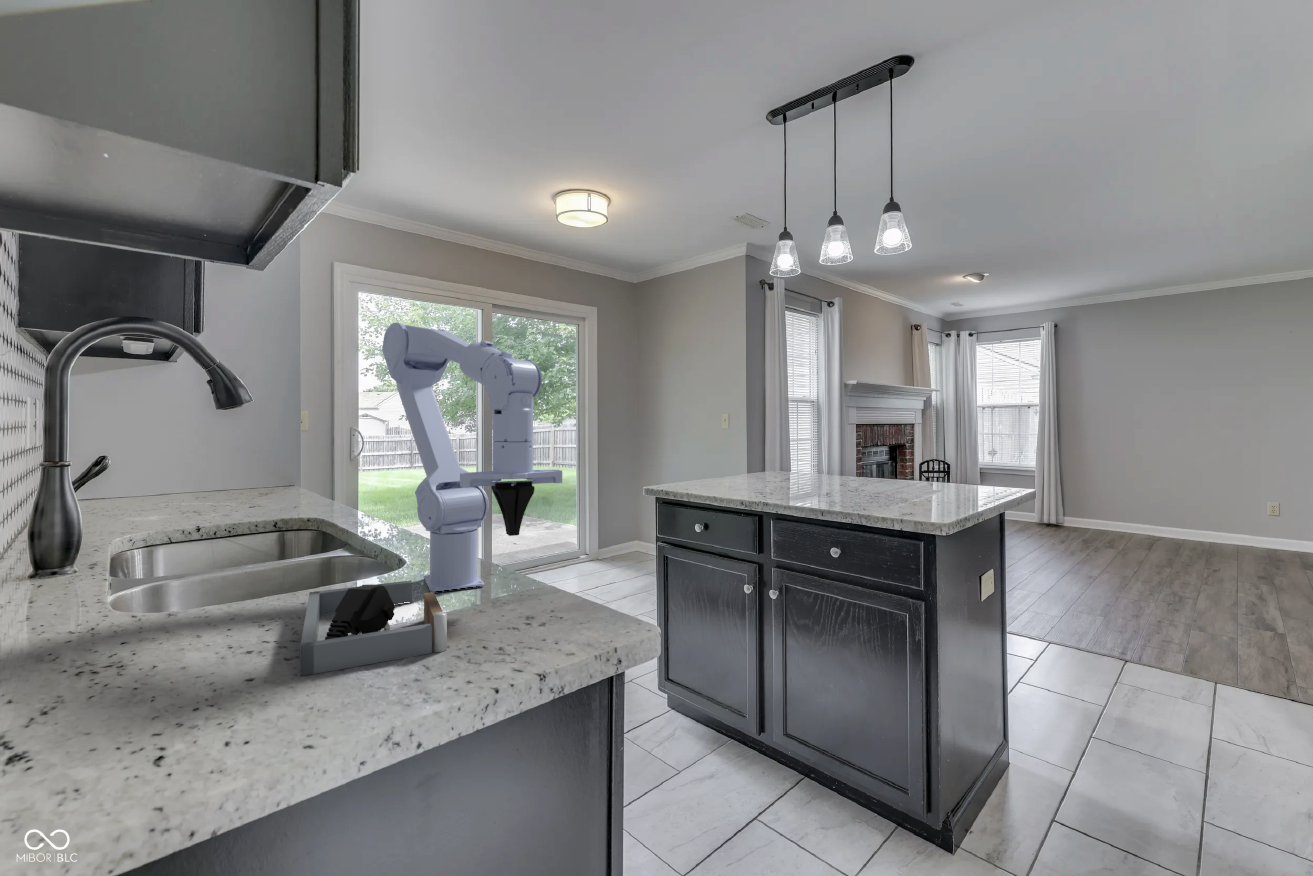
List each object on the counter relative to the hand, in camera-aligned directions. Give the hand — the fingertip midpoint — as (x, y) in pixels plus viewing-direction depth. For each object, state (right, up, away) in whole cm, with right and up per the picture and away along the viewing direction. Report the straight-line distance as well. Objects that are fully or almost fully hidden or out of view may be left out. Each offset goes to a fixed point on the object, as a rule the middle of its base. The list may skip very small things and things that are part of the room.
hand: (512, 534), depth 83 cm
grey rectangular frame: (-15, -10, -12) cm, 21 cm away
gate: (-7, -10, -12) cm, 17 cm away
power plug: (-15, -11, -17) cm, 24 cm away
